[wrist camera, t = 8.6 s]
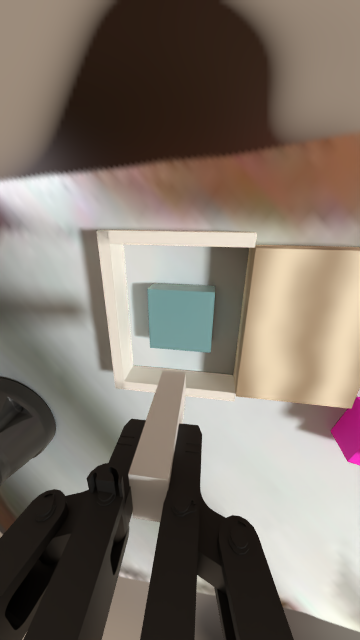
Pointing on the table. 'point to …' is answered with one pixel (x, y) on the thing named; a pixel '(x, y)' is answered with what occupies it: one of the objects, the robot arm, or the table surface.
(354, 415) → the magenta notched bracket
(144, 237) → the box
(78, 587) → the robot arm
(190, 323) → the teal rectangular block
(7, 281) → the table surface
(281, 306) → the plate
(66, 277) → the table surface
